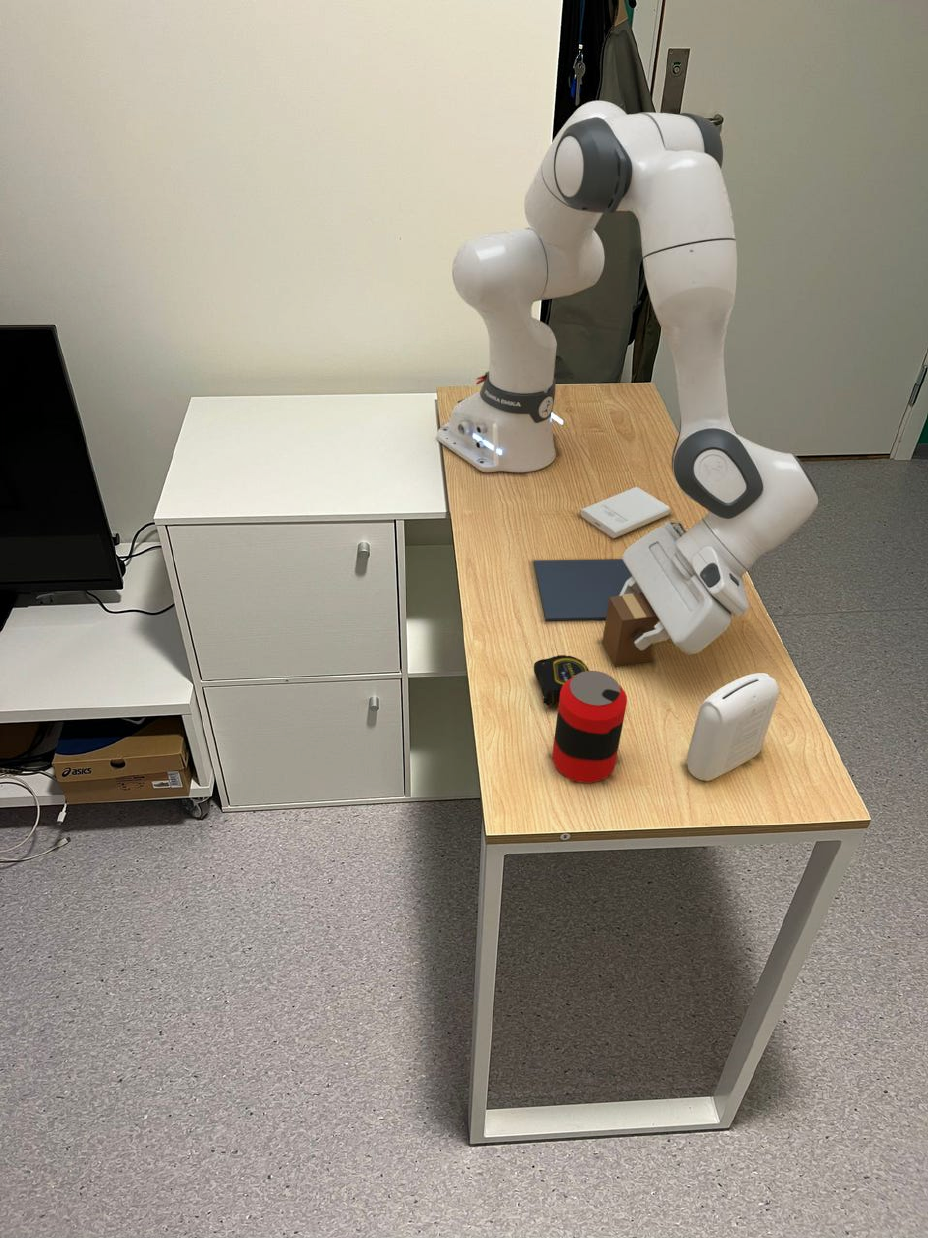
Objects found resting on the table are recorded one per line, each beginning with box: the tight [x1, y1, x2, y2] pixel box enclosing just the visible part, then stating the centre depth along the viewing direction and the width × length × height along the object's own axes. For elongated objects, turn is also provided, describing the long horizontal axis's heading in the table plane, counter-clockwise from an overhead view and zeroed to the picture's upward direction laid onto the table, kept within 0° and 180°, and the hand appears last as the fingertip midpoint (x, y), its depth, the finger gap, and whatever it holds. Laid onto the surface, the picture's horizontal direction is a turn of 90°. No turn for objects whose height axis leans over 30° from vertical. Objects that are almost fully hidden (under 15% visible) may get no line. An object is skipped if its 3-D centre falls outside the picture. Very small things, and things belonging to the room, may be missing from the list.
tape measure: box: [533, 654, 590, 707], centre depth 124 cm, size 7×7×4 cm
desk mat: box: [533, 558, 659, 622], centre depth 142 cm, size 20×14×1 cm
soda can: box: [551, 670, 628, 784], centre depth 112 cm, size 8×8×12 cm
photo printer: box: [685, 672, 780, 782], centre depth 112 cm, size 10×4×12 cm, turn 123°
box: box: [601, 593, 659, 667], centre depth 129 cm, size 5×5×8 cm
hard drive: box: [579, 486, 671, 539], centre depth 157 cm, size 2×8×12 cm
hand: (625, 626), depth 128 cm, fingers open, 6 cm apart
